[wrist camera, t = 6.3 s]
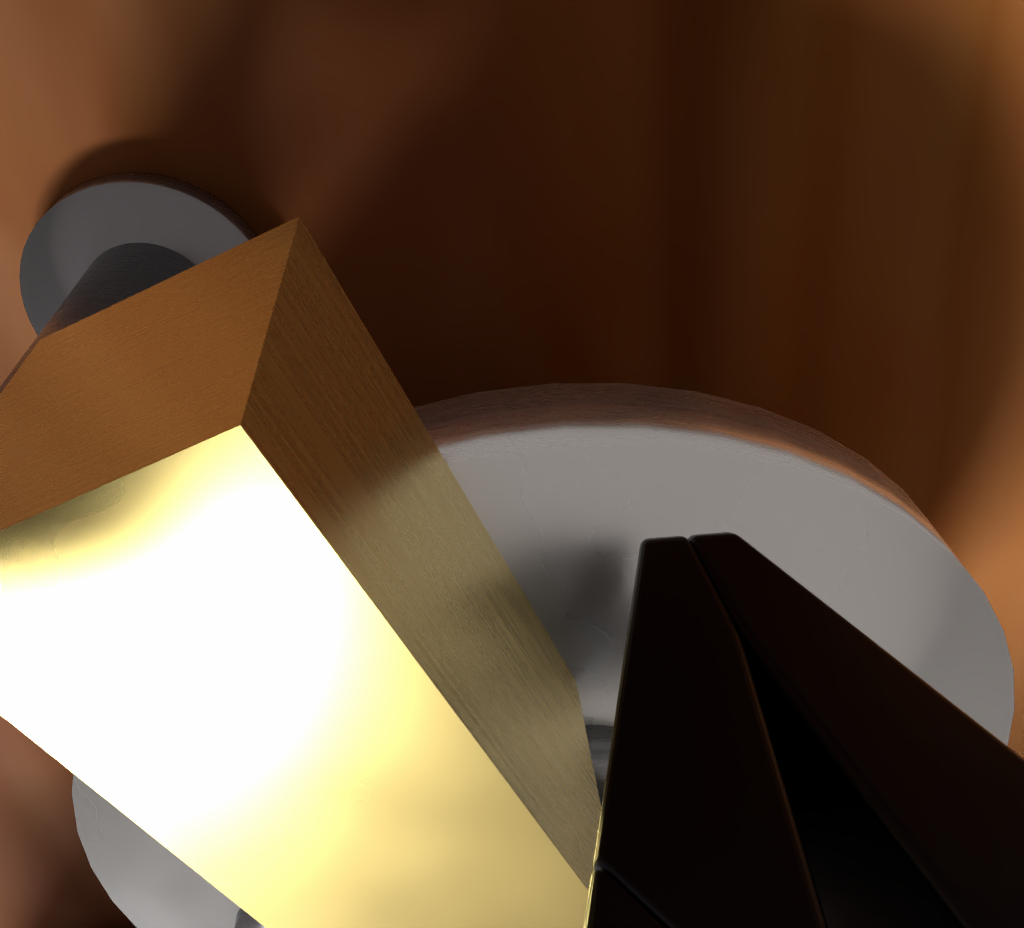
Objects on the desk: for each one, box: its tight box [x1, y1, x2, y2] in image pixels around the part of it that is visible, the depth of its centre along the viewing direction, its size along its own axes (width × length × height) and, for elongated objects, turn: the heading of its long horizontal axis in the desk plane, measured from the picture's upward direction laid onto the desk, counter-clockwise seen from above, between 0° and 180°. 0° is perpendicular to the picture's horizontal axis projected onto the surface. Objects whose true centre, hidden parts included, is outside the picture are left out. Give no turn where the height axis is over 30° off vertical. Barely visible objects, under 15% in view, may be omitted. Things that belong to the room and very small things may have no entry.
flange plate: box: [0, 216, 1014, 928], centre depth 10 cm, size 14×12×4 cm
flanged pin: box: [0, 173, 257, 394], centre depth 9 cm, size 3×3×6 cm
